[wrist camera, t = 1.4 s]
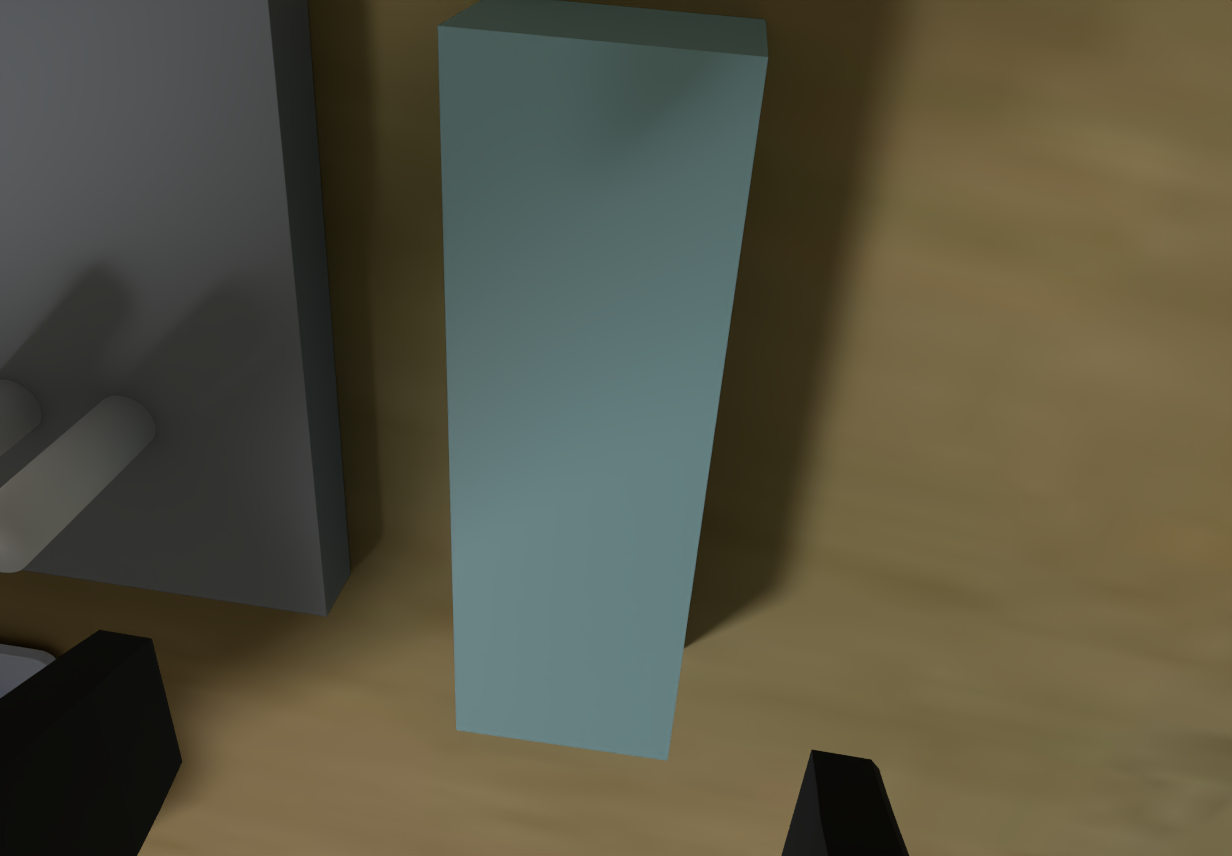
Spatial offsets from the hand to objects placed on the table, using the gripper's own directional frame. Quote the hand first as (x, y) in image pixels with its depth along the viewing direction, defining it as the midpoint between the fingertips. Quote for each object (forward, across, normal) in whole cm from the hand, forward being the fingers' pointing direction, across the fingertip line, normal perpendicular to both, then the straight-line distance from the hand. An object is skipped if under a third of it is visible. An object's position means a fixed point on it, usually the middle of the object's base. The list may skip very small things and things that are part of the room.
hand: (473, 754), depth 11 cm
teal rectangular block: (+10, 0, +1) cm, 10 cm away
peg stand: (+10, +11, -2) cm, 15 cm away
